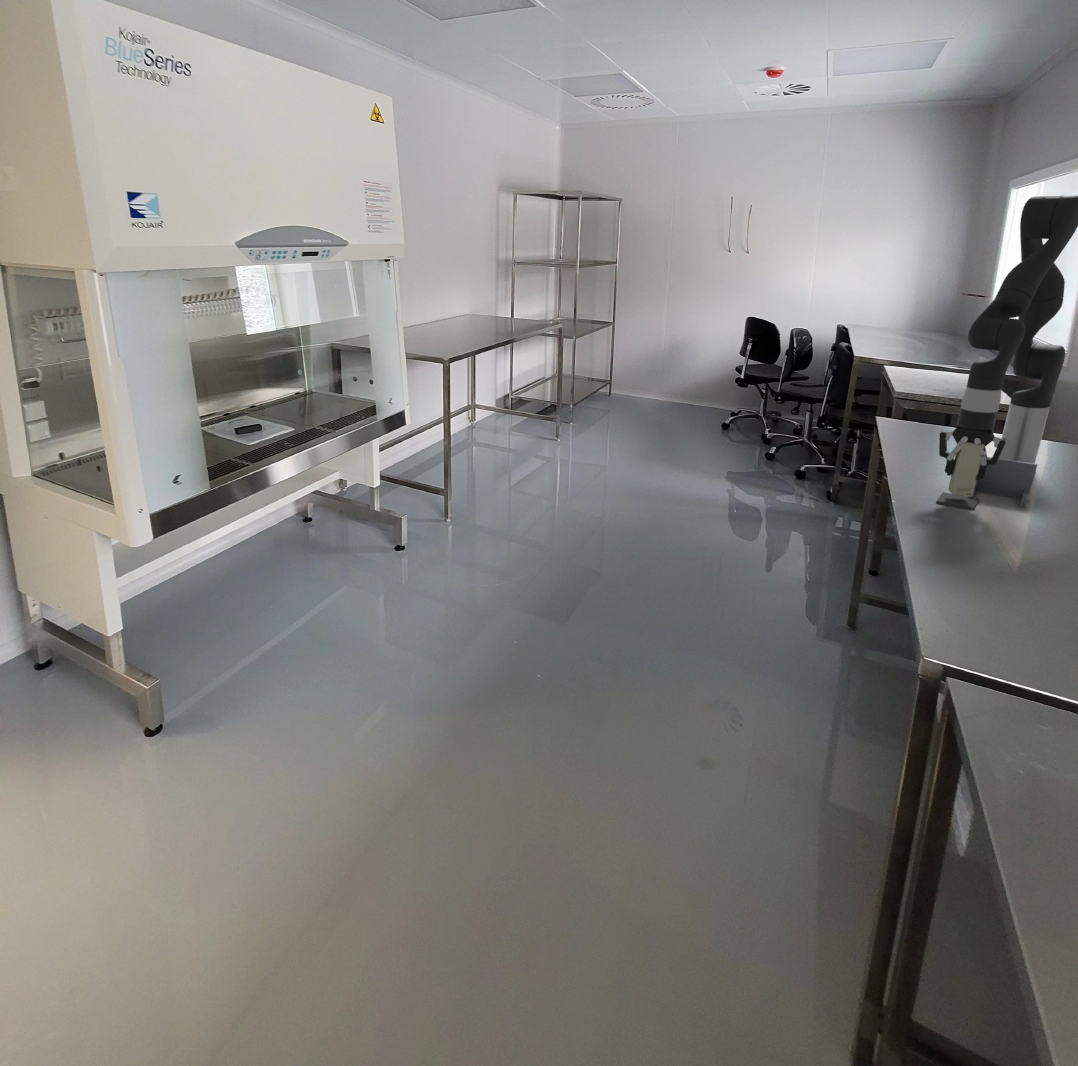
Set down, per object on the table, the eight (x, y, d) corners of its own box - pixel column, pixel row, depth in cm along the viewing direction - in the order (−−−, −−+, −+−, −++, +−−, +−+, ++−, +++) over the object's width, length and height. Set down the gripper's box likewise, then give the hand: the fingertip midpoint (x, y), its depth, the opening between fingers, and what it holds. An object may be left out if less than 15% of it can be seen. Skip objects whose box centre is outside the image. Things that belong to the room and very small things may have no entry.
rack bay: (972, 489, 186) (980, 455, 183) (1028, 499, 180) (1037, 464, 176) (967, 497, 181) (976, 462, 177) (1024, 507, 174) (1034, 471, 171)
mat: (942, 494, 183) (942, 492, 183) (978, 500, 179) (979, 498, 178) (936, 503, 177) (936, 500, 177) (973, 510, 173) (974, 507, 172)
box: (972, 497, 174) (986, 445, 169) (952, 496, 175) (965, 443, 170) (966, 490, 179) (978, 439, 174) (946, 489, 180) (958, 437, 175)
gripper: (1017, 408, 168) (999, 479, 174) (947, 400, 176) (933, 468, 182) (1013, 414, 162) (995, 487, 169) (941, 406, 170) (927, 475, 177)
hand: (963, 476), depth 175 cm, fingers closed on box, 5 cm apart
